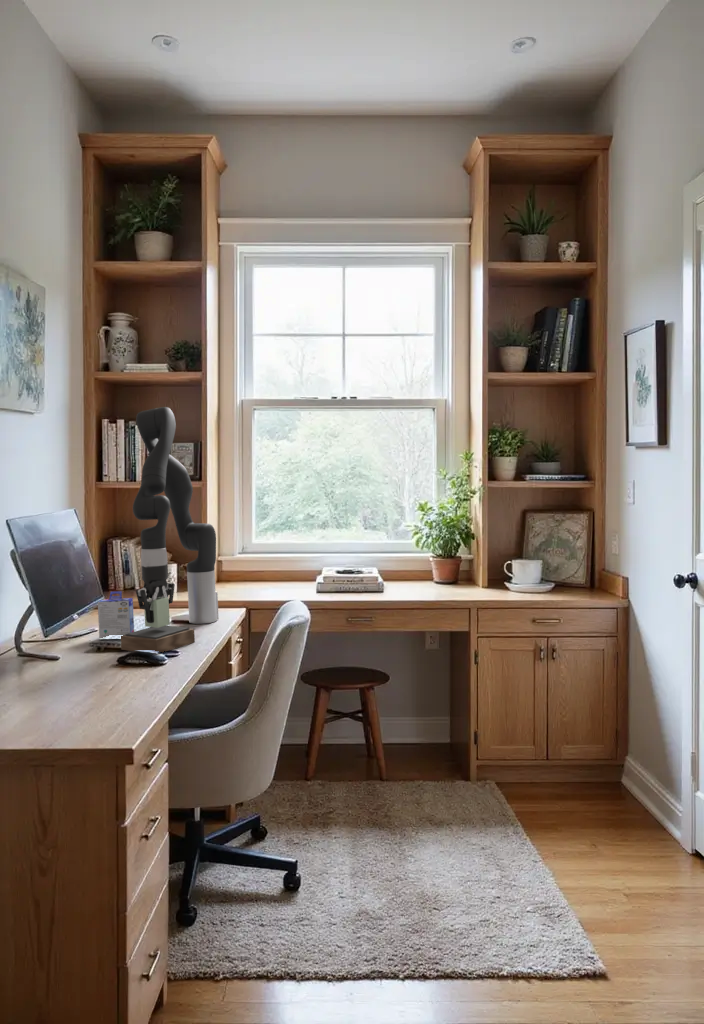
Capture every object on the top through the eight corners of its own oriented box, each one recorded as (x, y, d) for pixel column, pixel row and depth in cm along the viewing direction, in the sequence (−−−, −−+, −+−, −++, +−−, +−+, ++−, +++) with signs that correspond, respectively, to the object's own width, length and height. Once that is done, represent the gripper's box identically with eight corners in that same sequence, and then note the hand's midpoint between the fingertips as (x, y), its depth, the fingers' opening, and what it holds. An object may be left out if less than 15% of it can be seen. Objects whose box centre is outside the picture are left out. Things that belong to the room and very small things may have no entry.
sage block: (157, 623, 246) (155, 596, 246) (169, 624, 244) (168, 597, 243) (145, 626, 242) (143, 599, 241) (157, 627, 239) (156, 600, 239)
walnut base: (159, 638, 254) (159, 623, 253) (194, 642, 247) (194, 627, 246) (121, 649, 240) (120, 634, 240) (157, 654, 233) (156, 638, 233)
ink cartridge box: (135, 635, 259) (133, 590, 258) (131, 639, 253) (129, 593, 252) (103, 637, 258) (101, 591, 258) (99, 641, 253) (96, 594, 252)
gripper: (162, 560, 250) (164, 615, 251) (127, 566, 237) (130, 624, 238) (180, 561, 246) (183, 617, 247) (146, 567, 234) (149, 626, 235)
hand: (157, 620), depth 243 cm, fingers closed on sage block, 5 cm apart
